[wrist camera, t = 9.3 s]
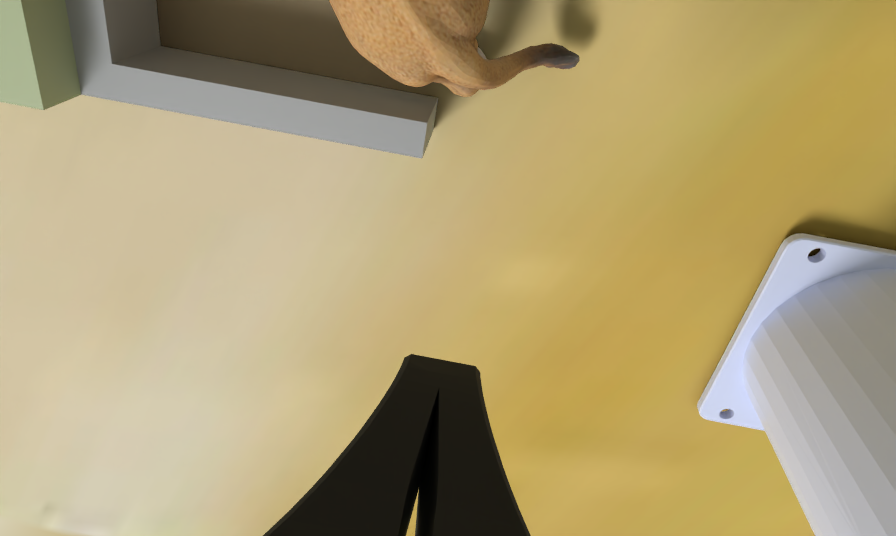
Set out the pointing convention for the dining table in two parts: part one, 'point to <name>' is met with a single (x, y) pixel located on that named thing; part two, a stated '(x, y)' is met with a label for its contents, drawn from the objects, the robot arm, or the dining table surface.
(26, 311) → the dining table surface
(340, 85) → the l-rail base plate
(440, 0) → the lion figurine
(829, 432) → the robot arm
